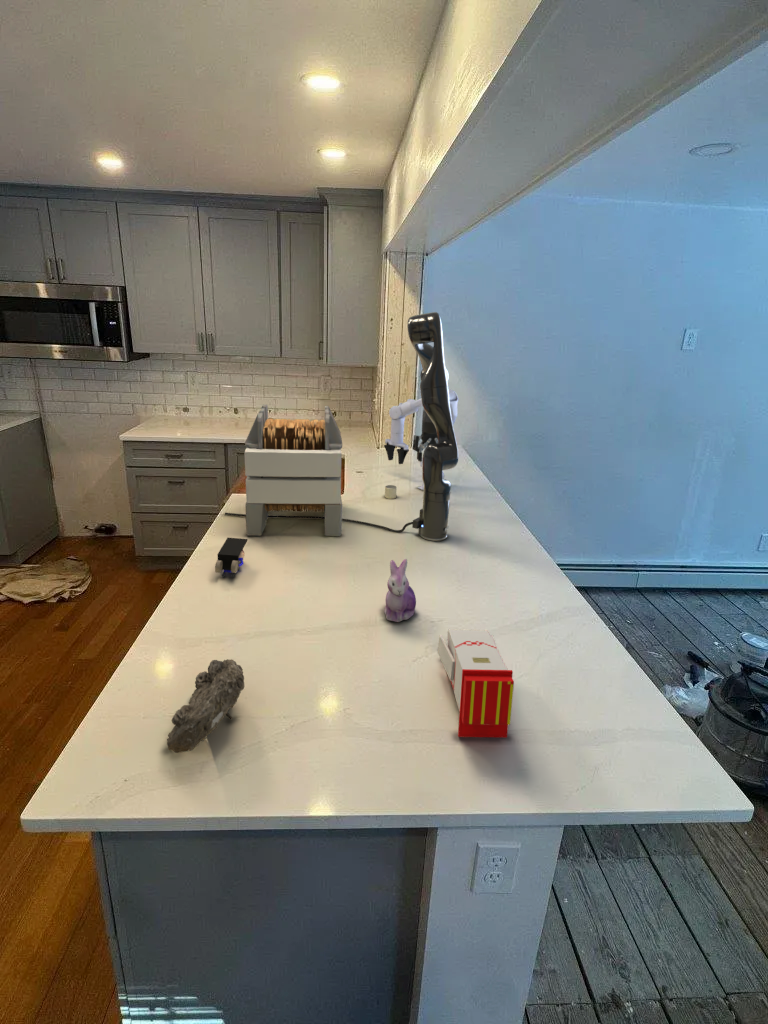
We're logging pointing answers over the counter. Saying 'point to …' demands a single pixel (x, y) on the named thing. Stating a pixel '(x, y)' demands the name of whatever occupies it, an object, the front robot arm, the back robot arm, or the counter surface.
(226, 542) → the figurine character
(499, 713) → the toy
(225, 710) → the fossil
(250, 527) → the grey crate
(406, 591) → the figurine
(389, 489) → the can
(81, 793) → the counter surface
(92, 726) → the counter surface
